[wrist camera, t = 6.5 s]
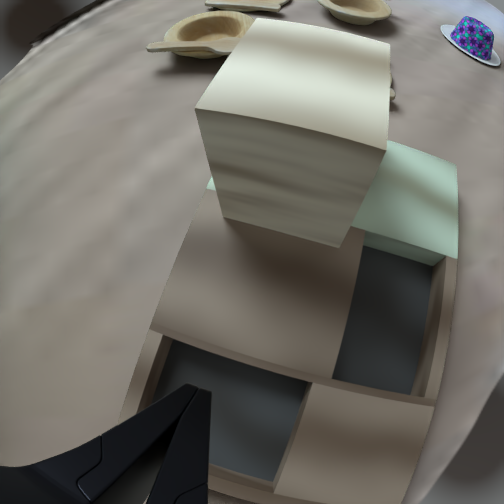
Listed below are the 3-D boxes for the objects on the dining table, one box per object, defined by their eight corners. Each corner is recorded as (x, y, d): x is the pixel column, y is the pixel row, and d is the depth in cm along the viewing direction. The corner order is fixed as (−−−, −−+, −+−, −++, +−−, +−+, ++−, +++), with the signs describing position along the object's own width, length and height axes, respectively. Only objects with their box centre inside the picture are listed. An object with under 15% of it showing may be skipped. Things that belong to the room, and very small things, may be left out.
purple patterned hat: (440, 45, 35) (449, 20, 30) (438, 20, 39) (445, -1, 34) (503, 79, 33) (516, 56, 28) (493, 48, 37) (502, 29, 32)
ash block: (339, 248, 21) (386, 150, 11) (222, 216, 22) (194, 108, 12) (358, 147, 24) (389, 44, 14) (261, 123, 25) (257, 17, 16)
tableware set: (228, -16, 44) (226, -33, 40) (386, 6, 40) (390, -12, 36) (129, 91, 32) (118, 65, 28) (393, 133, 28) (405, 105, 24)
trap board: (381, 509, 16) (408, 539, 11) (125, 440, 19) (88, 454, 13) (444, 180, 25) (470, 143, 20) (247, 124, 28) (243, 79, 23)
